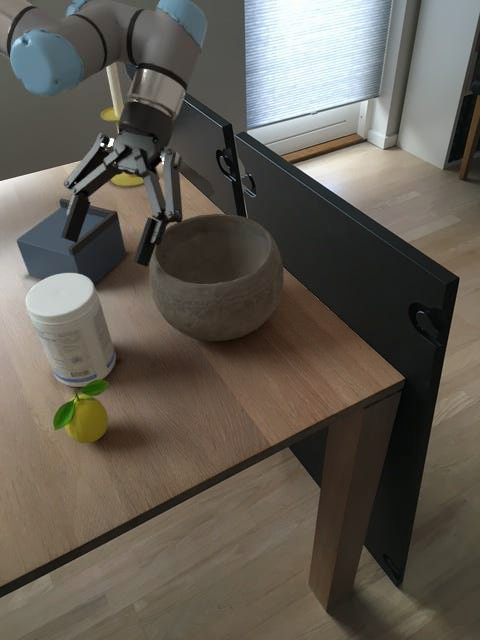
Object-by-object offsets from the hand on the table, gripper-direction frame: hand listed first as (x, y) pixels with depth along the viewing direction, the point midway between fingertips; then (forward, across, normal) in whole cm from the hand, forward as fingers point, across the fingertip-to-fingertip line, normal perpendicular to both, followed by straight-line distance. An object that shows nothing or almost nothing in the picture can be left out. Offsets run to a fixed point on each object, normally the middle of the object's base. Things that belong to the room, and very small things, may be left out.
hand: (103, 252), depth 78 cm
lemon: (+24, -10, +2) cm, 26 cm away
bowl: (+4, -12, -18) cm, 23 cm away
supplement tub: (+18, 0, -5) cm, 18 cm away
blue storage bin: (+4, +20, -18) cm, 27 cm away
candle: (-20, +34, -42) cm, 57 cm away
